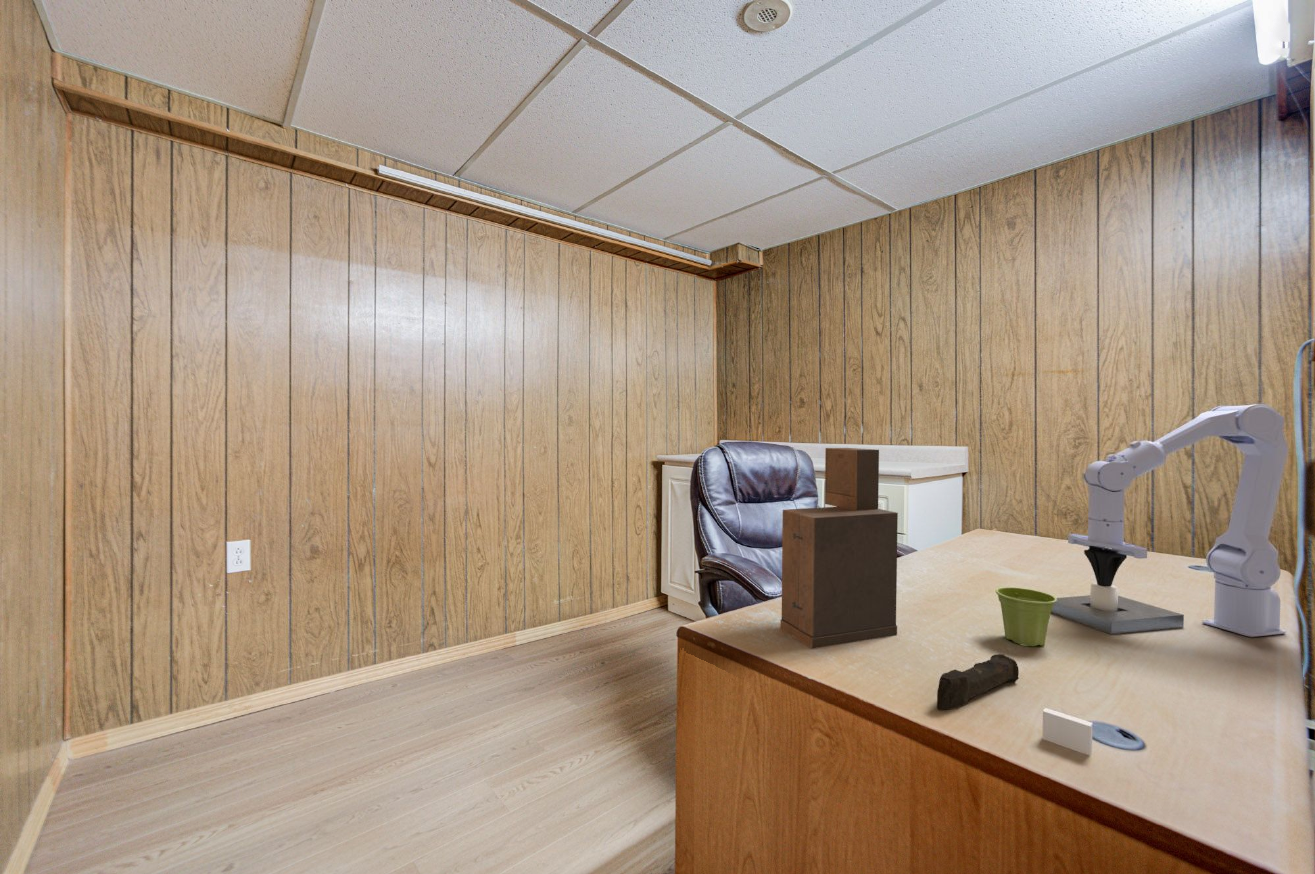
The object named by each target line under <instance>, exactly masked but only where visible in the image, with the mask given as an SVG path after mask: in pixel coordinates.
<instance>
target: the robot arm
mask: <svg viewBox="0 0 1315 874" xmlns="http://www.w3.org/2000/svg"><path fill="white" fill-rule="evenodd" d="M1285 422H1286V418H1285V417H1284V416H1283V415H1282V414H1281V413H1279V412H1278V411H1277V410H1276V409H1275V408H1273V407H1272V406H1270V405H1268V404H1264V403H1255V404H1249V405H1246V404H1245V405H1219V406H1216V407H1213V408H1212V409H1210V410H1207V411H1204V412H1201V413H1200V414H1199V415H1197V417H1195V418H1193V419H1192V420H1190V421H1187V422H1186V423H1185V424H1183V425H1181V426H1179V427H1178V428H1175V429H1174V430H1171V431H1170V432H1168V433H1167V434H1165V435H1163V436H1162V437H1160V438H1158V439H1157V440H1155V441H1150V440H1146V439H1145V440H1141V441H1140V440H1139V441H1138V440H1134V441H1132V442H1129V447H1127V448H1125V449H1123V450H1121V451H1119V452H1117V453H1116V454H1113V453H1112V454H1111V453H1110V454H1108V455H1107V456H1106V459H1105V460H1097V461H1094V462H1092V463H1090V464H1088V465H1087V468H1086V469H1085V472H1084V473H1082V478H1083V481H1084V482H1085V483H1086V484H1087V486H1088V510H1087V511H1088V513H1087V514H1088V518H1087V523H1088V524H1087V535H1084V534H1077V533H1070V534H1067V535H1068V536H1067V538H1068V539H1067V541H1068V542H1067V543H1068V544H1071V545H1079V546H1083V547H1088V549H1084V550H1083V554H1084V555H1085V556H1086V558H1087V560H1088V562H1089V564H1090V565H1091V567H1092V570H1093V571H1092V572H1093V573H1094V577H1095V580H1096V583H1097V584H1098V585H1100V586H1104V587H1105V586H1111V585H1113V582H1114V579H1115V576H1116V574H1117V572H1118V570H1119V568H1120V567H1121V565H1122V564H1123V562H1124V561H1125V560H1126V559H1127V556H1129V557H1133V558H1135V559H1139V560H1141V559H1148V548H1145V547H1142V546H1138V545H1134V544H1131V543H1127V542H1125V541H1124V539H1125V538H1124V537H1125V536H1124V534H1125V499H1126V498H1125V492H1126V491H1125V490H1126V489H1128V488H1129V487H1130V486H1131V484H1132V483H1133V480H1135V479H1137V478H1139V477H1141V476H1143V475H1145V474H1147V473H1149V472H1151V471H1153V470H1155V469H1157V468H1159V467H1161V466H1163V465H1165V463H1166V461H1167V457H1168V456H1169V455H1171V454H1173V453H1175V452H1177V451H1180V450H1182V449H1185V448H1187V447H1189V446H1191V445H1194V444H1196V443H1197V442H1201V441H1202V440H1205V439H1207V438H1209V437H1218V438H1220V439H1222V440H1224V441H1226V442H1228V443H1230V444H1232V445H1233V446H1235V447H1236V448H1237V449H1238V450H1239V451H1240V452H1241V453H1243V455H1244V458H1243V461H1242V466H1241V471H1240V475H1239V479H1238V485H1237V488H1236V492H1235V497H1234V502H1233V506H1232V511H1231V515H1230V520H1229V523H1228V524H1229V525H1228V529H1227V531H1226V532H1224V533H1223V534H1221V535H1219V536H1218V537H1217V538H1215V542H1214V545H1213V547H1212V548H1211V549H1210V550H1209V551H1208V552H1207V555H1206V557H1205V562H1206V563H1205V564H1206V566H1207V568H1208V569H1209V570H1210V571H1211V572H1212V573H1213V579H1214V606H1213V607H1214V609H1213V610H1214V611H1213V612H1214V613H1213V619H1204V620H1201V623H1203V624H1204V625H1208V626H1211V627H1215V628H1218V629H1220V630H1221V629H1222V630H1225V631H1228V632H1232V633H1235V634H1239V635H1242V636H1246V637H1248V638H1249V637H1250V638H1254V637H1255V638H1256V637H1263V636H1272V635H1274V636H1275V635H1283V634H1286V633H1287V631H1286V630H1284V629H1281V627H1280V626H1281V598H1280V596H1279V594H1278V592H1277V591H1276V590H1275V589H1274V588H1272V586H1273V585H1275V584H1276V583H1277V582H1278V581H1279V580H1280V577H1281V567H1280V565H1279V561H1278V559H1279V551H1278V549H1277V548H1275V546H1274V544H1272V542H1271V541H1270V540H1269V537H1270V532H1271V527H1272V524H1273V519H1274V515H1275V510H1276V506H1277V500H1278V497H1279V492H1280V489H1281V485H1282V480H1283V475H1284V471H1285V468H1286V463H1287V457H1288V453H1289V446H1288V443H1287V440H1286V436H1285V433H1284V427H1285Z"/></svg>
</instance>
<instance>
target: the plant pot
mask: <svg viewBox="0 0 1315 874" xmlns="http://www.w3.org/2000/svg"><path fill="white" fill-rule="evenodd" d="M995 593H996V595H997V597H998V601H999V603H1000V607H1001V615H1002V622H1003V628H1004V636H1005V638H1006V639H1007V640H1011V641H1012V642H1013V643H1015V644H1018V645H1023V646H1028V647H1036V646H1044V645H1045V644H1046V637H1047V632H1048V628H1049V622H1050V617H1051V614H1052V613H1051V610H1052V609H1053V605H1054V603H1056V602H1057V598H1058V597H1056V596H1054V595H1052V594H1050V593H1046V592H1043V591H1040V590H1035V589H1032V588H1031V589H1030V588H1024V587H1017V586H1016V587H1011V586H1008V587H1005V586H1003V587H998V588H996V589H995Z"/></svg>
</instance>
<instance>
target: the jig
mask: <svg viewBox="0 0 1315 874" xmlns="http://www.w3.org/2000/svg"><path fill="white" fill-rule="evenodd" d="M1090 595H1091V594H1089V595H1080V596H1079V595H1077V596H1063V597H1056V598H1057V602H1056V603H1054V605H1053V609H1052V610H1051V613H1050V614H1054V615H1056V616H1060V617H1062V618H1065V619H1068V620H1070V621H1073V622H1076V623H1079V624H1082V625H1085V626H1087V627H1090V628H1093V629H1096V630H1099V631H1101V632H1104V633H1107V634H1109V635H1118V634H1119V635H1120V634H1129V633H1130V634H1132V633H1139V632H1148V631H1149V632H1150V631H1158V630H1159V631H1161V630H1169V629H1170V630H1171V629H1179V628H1184V625H1185V624H1184V623H1185V622H1184V621H1185V619H1184V618H1185V615H1184V614H1182V613H1179V612H1175V611H1171V610H1168V609H1165V608H1162V607H1157V606H1155V605H1151V604H1148V603H1145V602H1141V601H1138V600H1134V599H1131V598H1128V597H1124V596H1120V595H1118V612H1108V613H1107V612H1104V611H1100V610H1097V609H1094V608H1091V607H1090Z"/></svg>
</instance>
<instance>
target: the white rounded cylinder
mask: <svg viewBox="0 0 1315 874" xmlns="http://www.w3.org/2000/svg"><path fill="white" fill-rule="evenodd" d="M1089 595H1090V607H1091V608H1094V609H1097V610H1100V611H1104V612H1107V613H1108V612H1118V596H1119V587H1118V586H1117V585H1114V584H1112V585H1111V586H1105V587H1104V586H1100V585H1098V584H1097V582H1091V583H1090V594H1089Z"/></svg>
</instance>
